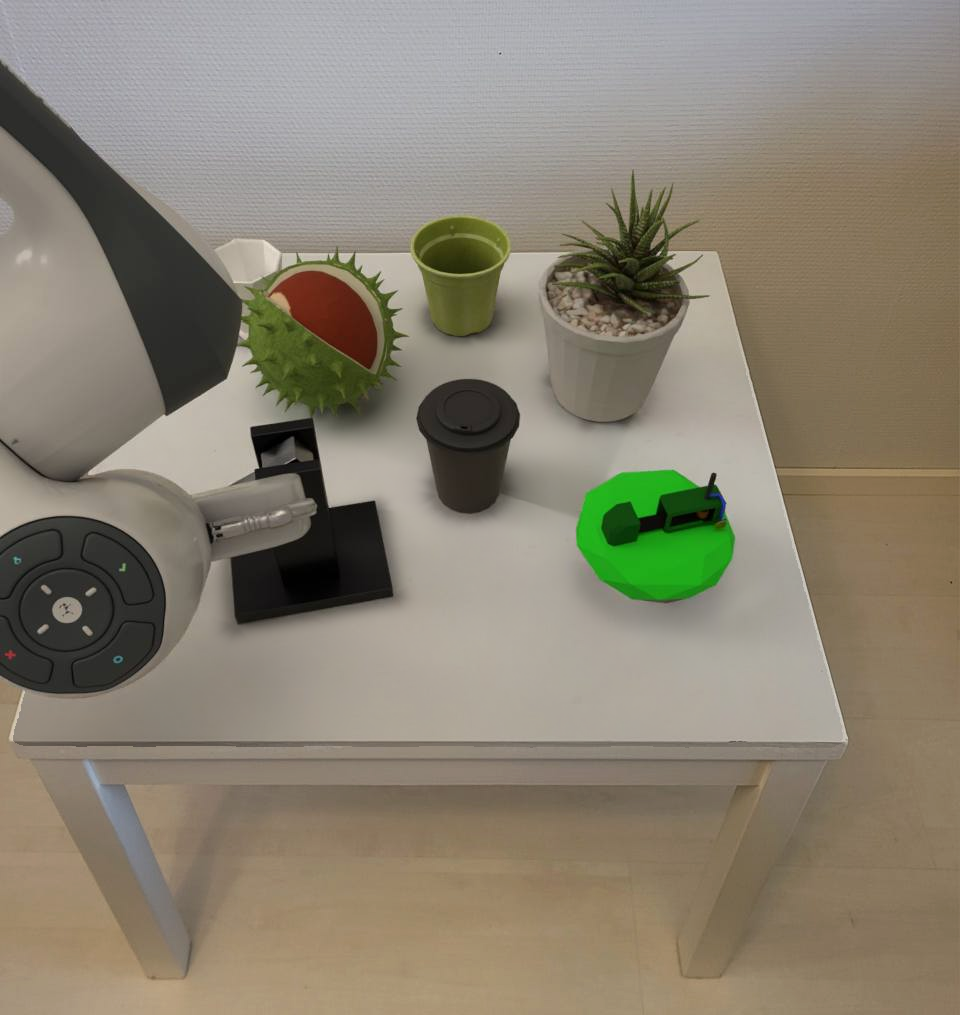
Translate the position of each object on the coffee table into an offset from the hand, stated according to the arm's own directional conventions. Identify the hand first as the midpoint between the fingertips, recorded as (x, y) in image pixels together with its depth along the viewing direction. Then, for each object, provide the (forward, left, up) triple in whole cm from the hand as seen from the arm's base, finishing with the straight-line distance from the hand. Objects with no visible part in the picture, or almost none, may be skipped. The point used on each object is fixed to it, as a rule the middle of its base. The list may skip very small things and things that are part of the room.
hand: (151, 527), depth 64 cm
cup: (+7, +35, -12) cm, 37 cm away
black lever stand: (+9, +4, -12) cm, 16 cm away
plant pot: (+27, +31, -12) cm, 43 cm away
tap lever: (+5, +4, -4) cm, 7 cm away
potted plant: (+38, +18, -12) cm, 44 cm away
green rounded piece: (+35, -2, -12) cm, 37 cm away
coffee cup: (+23, +9, -12) cm, 28 cm away
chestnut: (+13, +23, -12) cm, 29 cm away
